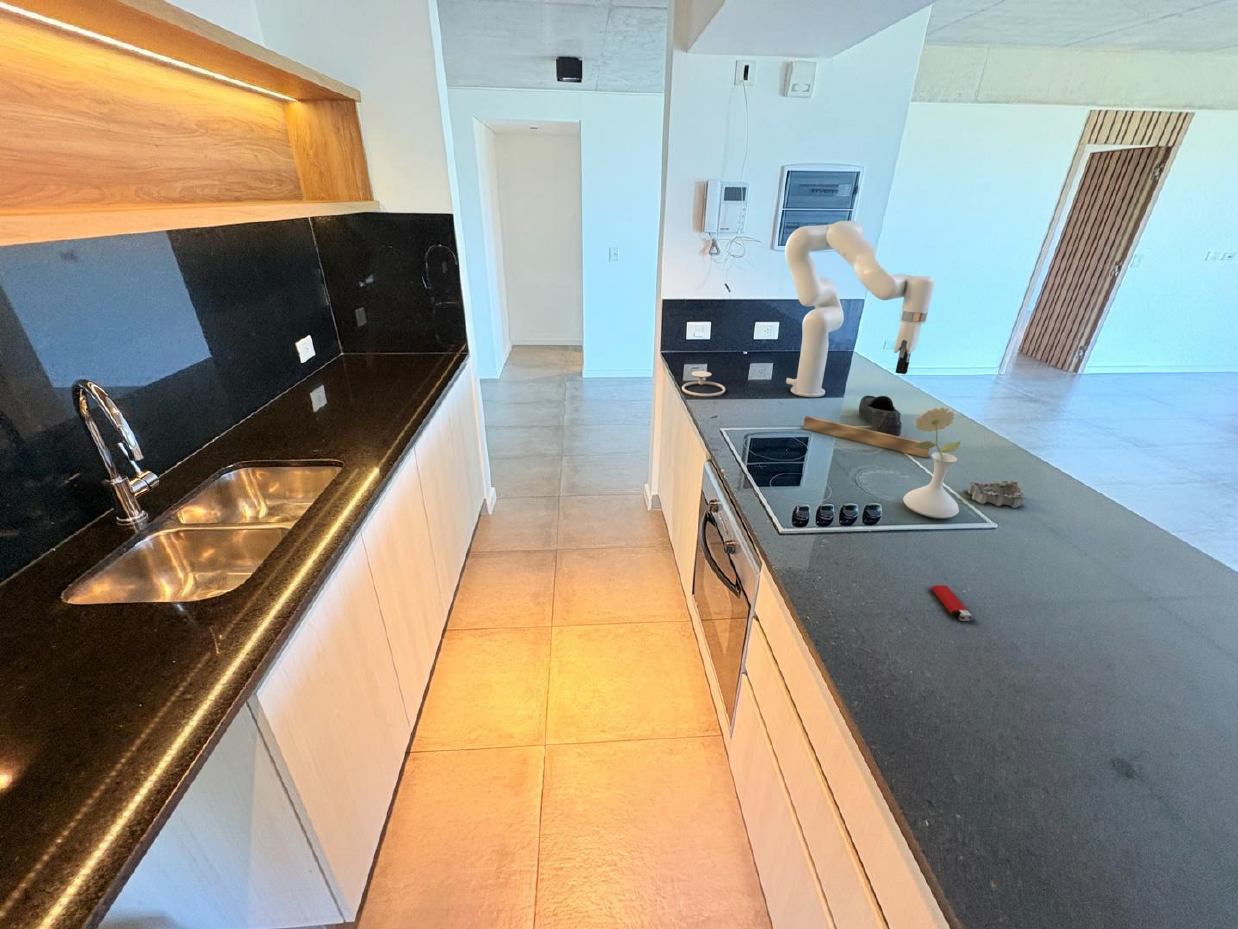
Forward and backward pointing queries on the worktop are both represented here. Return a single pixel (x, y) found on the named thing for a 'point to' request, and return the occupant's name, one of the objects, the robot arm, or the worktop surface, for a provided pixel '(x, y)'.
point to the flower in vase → (935, 470)
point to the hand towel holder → (702, 375)
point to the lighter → (952, 602)
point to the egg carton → (997, 493)
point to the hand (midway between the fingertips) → (901, 372)
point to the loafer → (881, 414)
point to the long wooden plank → (865, 436)
